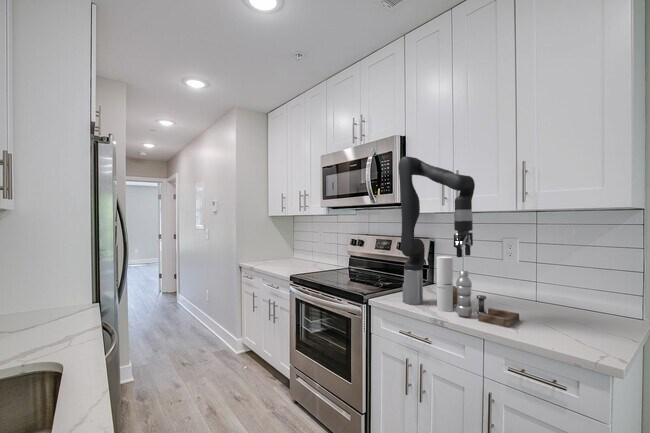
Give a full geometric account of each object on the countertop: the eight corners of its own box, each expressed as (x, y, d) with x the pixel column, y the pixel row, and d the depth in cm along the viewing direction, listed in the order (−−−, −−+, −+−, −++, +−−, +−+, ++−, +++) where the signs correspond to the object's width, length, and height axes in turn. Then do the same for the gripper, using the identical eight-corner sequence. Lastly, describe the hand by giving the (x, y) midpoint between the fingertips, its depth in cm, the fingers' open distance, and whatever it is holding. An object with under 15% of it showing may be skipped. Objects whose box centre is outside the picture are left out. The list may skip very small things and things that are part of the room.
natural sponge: (444, 302, 169) (444, 282, 169) (462, 304, 164) (462, 284, 164) (439, 306, 162) (439, 286, 162) (458, 308, 157) (458, 288, 157)
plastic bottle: (464, 319, 141) (464, 273, 141) (452, 315, 147) (452, 270, 147) (475, 317, 144) (475, 271, 144) (463, 313, 150) (463, 269, 150)
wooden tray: (478, 320, 139) (478, 313, 139) (489, 314, 148) (489, 307, 148) (509, 327, 130) (509, 320, 130) (519, 320, 139) (519, 313, 139)
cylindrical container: (454, 311, 152) (453, 258, 152) (438, 311, 153) (437, 257, 153) (451, 307, 159) (451, 256, 159) (436, 307, 160) (435, 256, 160)
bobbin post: (475, 313, 149) (475, 296, 149) (478, 312, 151) (478, 294, 151) (484, 315, 146) (484, 297, 146) (487, 313, 149) (487, 296, 149)
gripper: (461, 219, 153) (462, 254, 153) (447, 220, 143) (448, 257, 143) (478, 219, 148) (478, 255, 148) (464, 220, 138) (465, 258, 138)
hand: (463, 256), depth 145 cm, fingers open, 8 cm apart
